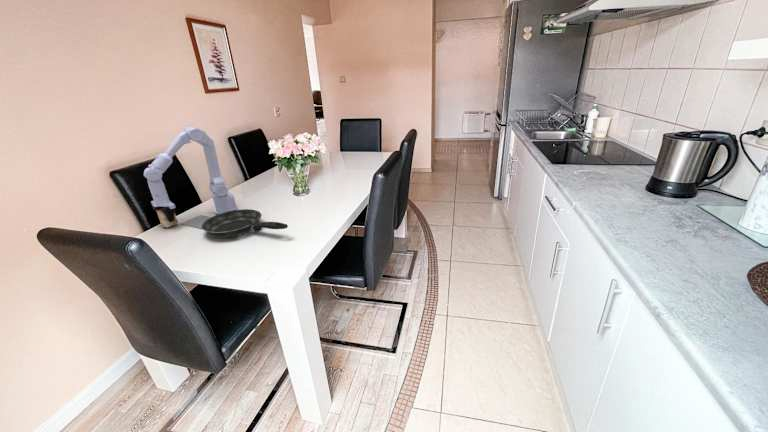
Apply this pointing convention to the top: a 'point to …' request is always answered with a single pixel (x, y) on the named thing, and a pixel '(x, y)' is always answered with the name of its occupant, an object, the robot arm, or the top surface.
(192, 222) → the grey rubber mat
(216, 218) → the frying pan
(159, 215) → the oak block
